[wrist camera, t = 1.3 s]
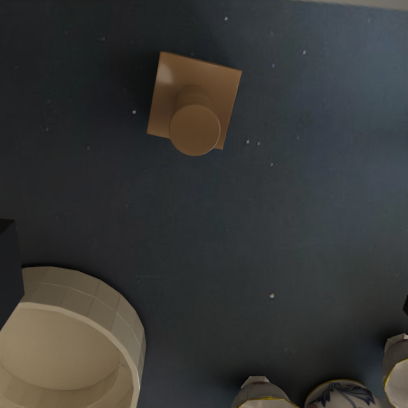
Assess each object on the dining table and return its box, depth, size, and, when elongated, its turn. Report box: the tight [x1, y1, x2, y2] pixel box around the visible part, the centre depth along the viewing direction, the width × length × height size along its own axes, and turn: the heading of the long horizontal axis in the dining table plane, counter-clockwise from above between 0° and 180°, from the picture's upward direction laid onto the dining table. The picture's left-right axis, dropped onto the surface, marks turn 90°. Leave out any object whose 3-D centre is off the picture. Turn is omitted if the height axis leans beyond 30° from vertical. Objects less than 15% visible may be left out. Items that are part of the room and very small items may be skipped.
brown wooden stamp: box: [147, 51, 242, 156], centre depth 25 cm, size 6×6×14 cm
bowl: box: [0, 266, 146, 408], centre depth 39 cm, size 19×19×6 cm
